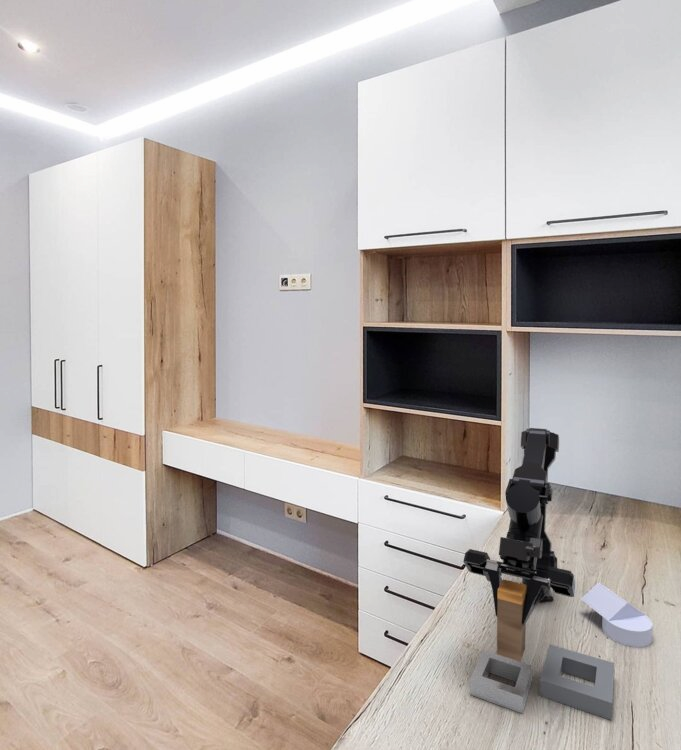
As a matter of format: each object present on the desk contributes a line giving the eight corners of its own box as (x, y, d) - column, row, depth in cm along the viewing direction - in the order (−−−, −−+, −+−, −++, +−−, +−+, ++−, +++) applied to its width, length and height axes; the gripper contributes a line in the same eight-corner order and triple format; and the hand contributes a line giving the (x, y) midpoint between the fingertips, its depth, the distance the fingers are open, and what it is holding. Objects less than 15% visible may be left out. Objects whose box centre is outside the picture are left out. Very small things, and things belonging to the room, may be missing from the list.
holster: (483, 664, 94) (483, 649, 94) (531, 680, 90) (532, 665, 90) (470, 694, 87) (470, 678, 87) (522, 713, 82) (522, 696, 82)
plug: (502, 641, 91) (503, 579, 89) (525, 648, 89) (526, 584, 87) (496, 654, 87) (497, 589, 86) (520, 661, 85) (521, 596, 84)
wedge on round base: (580, 613, 111) (624, 650, 98) (580, 584, 110) (625, 618, 97) (615, 607, 112) (662, 643, 100) (616, 579, 112) (664, 612, 99)
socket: (549, 658, 96) (549, 644, 95) (613, 678, 90) (614, 663, 90) (539, 695, 86) (540, 679, 86) (611, 720, 81) (612, 703, 80)
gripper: (466, 508, 94) (447, 590, 85) (575, 527, 84) (565, 622, 76) (477, 532, 101) (461, 610, 93) (578, 552, 92) (569, 642, 83)
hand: (510, 620), depth 86 cm, fingers closed on plug, 4 cm apart
